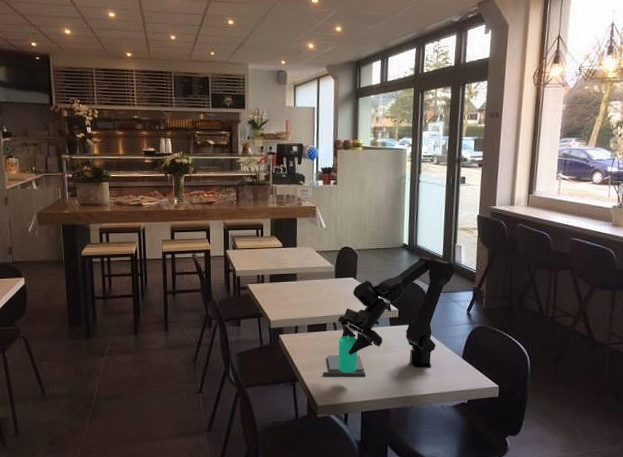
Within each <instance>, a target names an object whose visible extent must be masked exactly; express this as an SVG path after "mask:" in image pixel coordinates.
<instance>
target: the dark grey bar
mask: <svg viewBox="0 0 623 457" xmlns="http://www.w3.org/2000/svg"><path fill="white" fill-rule="evenodd" d="M322 376H323V377H366V372H365V371H364V372H351V373H346V372H330V371H328V372H327V371H326V372H325V371H324V372H322Z"/></svg>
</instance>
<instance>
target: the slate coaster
mask: <svg viewBox="0 0 623 457" xmlns="http://www.w3.org/2000/svg"><path fill="white" fill-rule="evenodd" d="M326 357H327V362H328V363H327V365H328V369H329V372H342V371H340V370H339V354H338V355H336V354H335V355H331V354H330V355H328V354H327V356H326ZM354 372H365V369H364V365H363V363H362V359H361V357H360V354H359V355H358V354H357V363H356V371H354Z"/></svg>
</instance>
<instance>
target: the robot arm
mask: <svg viewBox="0 0 623 457" xmlns="http://www.w3.org/2000/svg"><path fill="white" fill-rule="evenodd" d="M427 272H428V278H429V284H428V287H427V289H426V293H425V294H424V298H423V300H422V304H421V307H420V309H419V312H418V315H417V318H416V319H415V320H413V322H412V321H410V322H409V323H408V326H407V328H406V330H405V333H406V334H405V338H406V340H407V342H408V345H409V346H411V349H410V351H409V361H410V363H411V364H412V367H413V368H421V367H422V368H423V367H424V368H431V367H432V364H431V355H432V354H431V353H432V351H433V352H434V351H435V348H436V343H435V342H434V341H433V340H432V339H431V337H432V327H431V324H432V320H433V317H434V314H435V311H436V309H437V305H438V302H439V300H440V297H441V295H442V291H443V289H444V287H445V286H446V285H447V284H448V283H449V282H450V281H451V279H452V278H453V275H454V273H455V267H454V265H453V264H452V262H449V261H445V260H441V259H434V260H433V259H431V258H429V257H426V256H421V257H419V259H418V260H417V261H416V262H415V263H413V264H411V265H410V266H409V267H407V268H405V270H403V271H402V272H400V273H399V274H398V275H397V276H394V277H391V278H387V279H384V280H383V281H381V282H380V283H378V284H376V285H373V284H372V282H371V281H369V280H365V281H364V282H361V283H360V284H358V285H357V286H355V288H354V289H353V296H354V297H355V298H356V299H357V300H358V301H359V302H360V303H361V304H362V305H363V306H364V307H365V308H364V309H359V310H358V311H356V310H353V309H351V308H346V309H345V312H344V315H341V316H340V317H339V318H338V320H337V322H338V323H339V324H340V325H341V326H342V336H341V337H343V336H348V335H349V337H354V338H356V337H357V338H356V339H357V340H356V341H355V343H354V344H353V346H352V348H351V349H350V351H349V354H350V355H351V354H353V353H355V352H357V353H358V352H359V351H360V350H363V349H364V348H365V349H366V348H367V347H369V346H373V345H375V346H377V347H380V346H381V345H382V343H383V338H382V337H381V336H380V335H379V333H378V332H377V331H376V330H373V327H374V326H375V325H377V326H378V325H379V324H380V322H379V319H380V318H381V316H382V315H383V314H385V311H387V312H392V307H391V303H393V302H396V301H398V299H400V297H401V296H403V294H404V293H405V289H406V288H407V287H409V286H410V285H411V284H413V283H414V282H415V281H416V280H418V279H419V278H420V277H422V276H423V275H424V274H426V273H427ZM385 300H387V301H385ZM388 301H389V302H388ZM354 332H357V335H356V334H355V333H354Z"/></svg>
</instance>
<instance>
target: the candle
mask: <svg viewBox="0 0 623 457" xmlns="http://www.w3.org/2000/svg"><path fill="white" fill-rule="evenodd" d="M338 340H339V341H338V355H339V370H340V371H342V372H346V373H351V372H354V371H356V363H357V355H358V351H357V352H355V353H353V354H351V355H350V354H349V351H350V349H351V348H352V346H353V344H354V343H355V341H356V340H357V338H356V337H349V335H348V336H343V337H342V336H341V337H340V338H338Z"/></svg>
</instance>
